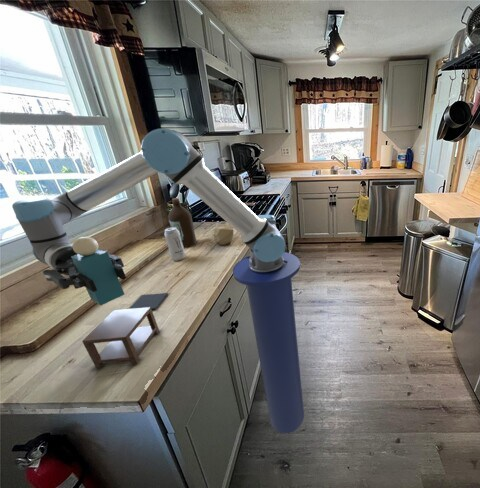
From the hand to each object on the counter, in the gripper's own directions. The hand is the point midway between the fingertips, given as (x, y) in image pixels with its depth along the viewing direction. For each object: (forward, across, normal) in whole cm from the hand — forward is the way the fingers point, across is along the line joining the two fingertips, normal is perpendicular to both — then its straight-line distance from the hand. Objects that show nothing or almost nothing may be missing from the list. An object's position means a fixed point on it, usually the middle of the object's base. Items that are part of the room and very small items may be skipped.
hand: (108, 279), depth 60 cm
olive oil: (-61, -54, -24) cm, 84 cm away
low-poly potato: (-43, -65, -24) cm, 82 cm away
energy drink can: (-48, -41, -24) cm, 67 cm away
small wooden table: (-5, 0, -24) cm, 24 cm away
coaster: (-23, -14, -24) cm, 36 cm away
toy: (-5, 0, -6) cm, 8 cm away
